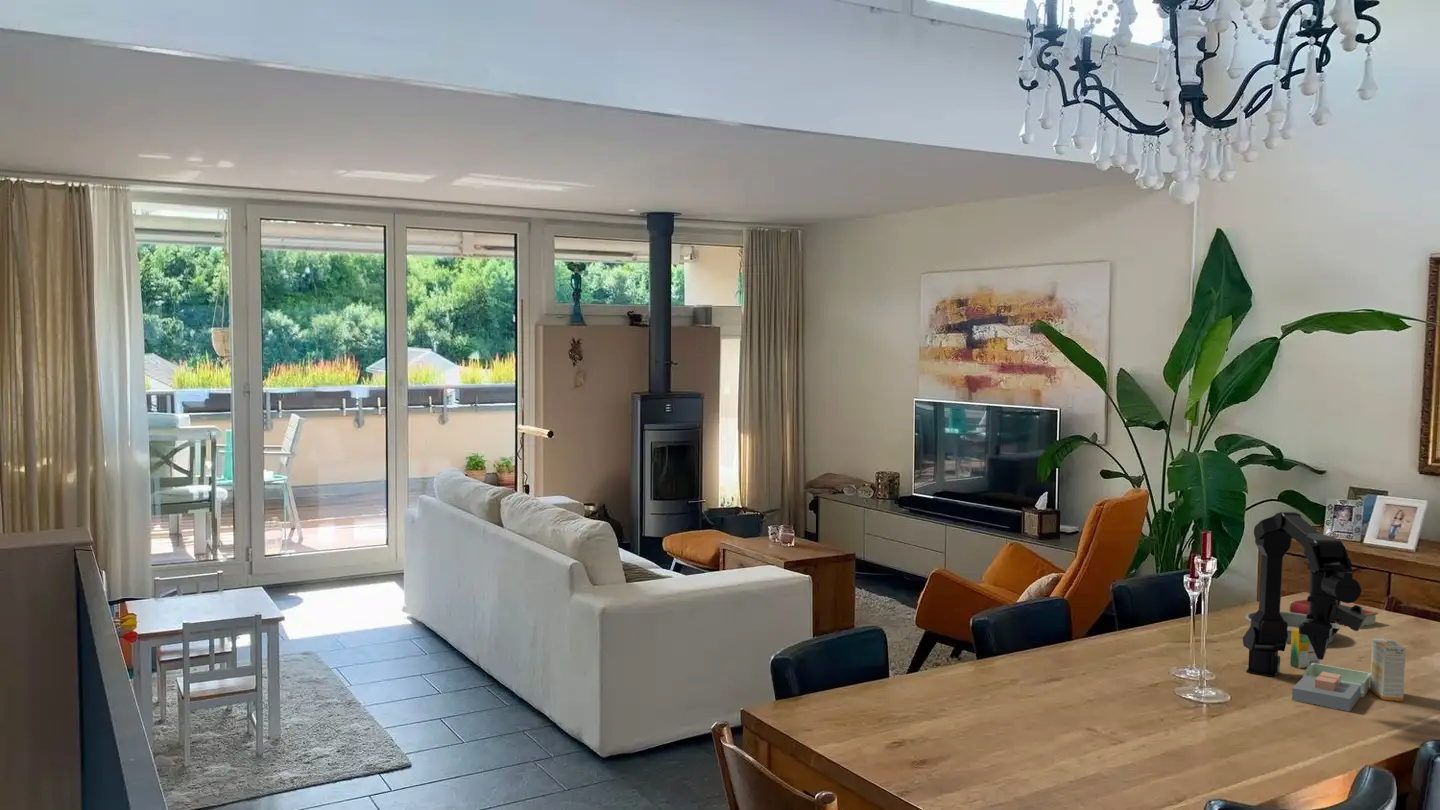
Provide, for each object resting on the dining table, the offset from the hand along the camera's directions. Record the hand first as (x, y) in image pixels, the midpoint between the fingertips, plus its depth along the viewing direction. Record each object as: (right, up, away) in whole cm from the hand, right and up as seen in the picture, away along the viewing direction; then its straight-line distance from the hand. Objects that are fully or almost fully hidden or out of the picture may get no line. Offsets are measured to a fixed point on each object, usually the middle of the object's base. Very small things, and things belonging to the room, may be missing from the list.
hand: (1320, 659), depth 252 cm
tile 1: (+5, -8, +7) cm, 12 cm away
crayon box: (+15, -10, +35) cm, 39 cm away
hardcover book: (+52, -8, +87) cm, 102 cm away
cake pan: (+28, -9, +66) cm, 73 cm away
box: (+14, -11, +17) cm, 24 cm away
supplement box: (+22, -12, +11) cm, 27 cm away
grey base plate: (+6, -11, +7) cm, 15 cm away
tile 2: (+8, -8, +10) cm, 15 cm away
